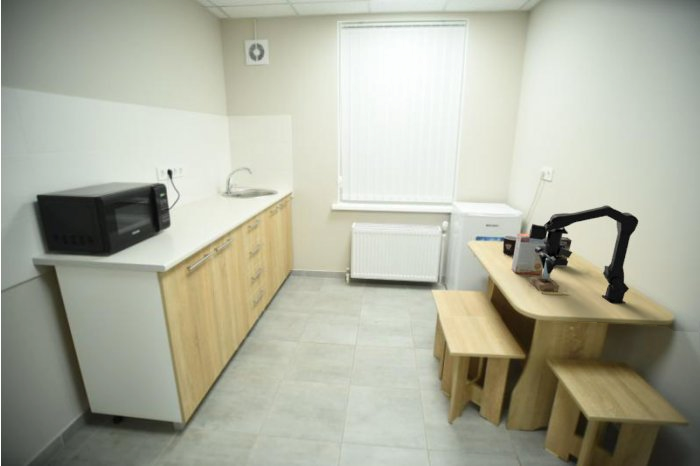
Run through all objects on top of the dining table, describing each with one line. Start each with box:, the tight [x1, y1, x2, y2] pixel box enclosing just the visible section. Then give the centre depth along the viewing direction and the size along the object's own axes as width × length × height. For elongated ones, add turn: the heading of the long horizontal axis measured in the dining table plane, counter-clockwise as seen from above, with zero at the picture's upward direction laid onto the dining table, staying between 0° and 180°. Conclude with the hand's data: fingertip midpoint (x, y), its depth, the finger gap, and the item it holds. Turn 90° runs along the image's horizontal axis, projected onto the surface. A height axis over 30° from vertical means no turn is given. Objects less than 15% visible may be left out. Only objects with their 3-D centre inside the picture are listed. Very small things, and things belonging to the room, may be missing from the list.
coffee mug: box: [502, 235, 517, 256], centre depth 206 cm, size 12×9×10 cm
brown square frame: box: [529, 276, 560, 292], centre depth 162 cm, size 9×9×4 cm
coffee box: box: [555, 236, 573, 268], centre depth 190 cm, size 9×6×16 cm
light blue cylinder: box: [541, 257, 551, 279], centre depth 159 cm, size 3×3×10 cm
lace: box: [538, 290, 570, 296], centre depth 158 cm, size 4×12×1 cm, turn 87°
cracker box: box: [511, 233, 547, 275], centre depth 177 cm, size 14×6×21 cm, turn 86°
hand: (547, 272), depth 160 cm, fingers closed on light blue cylinder, 3 cm apart
